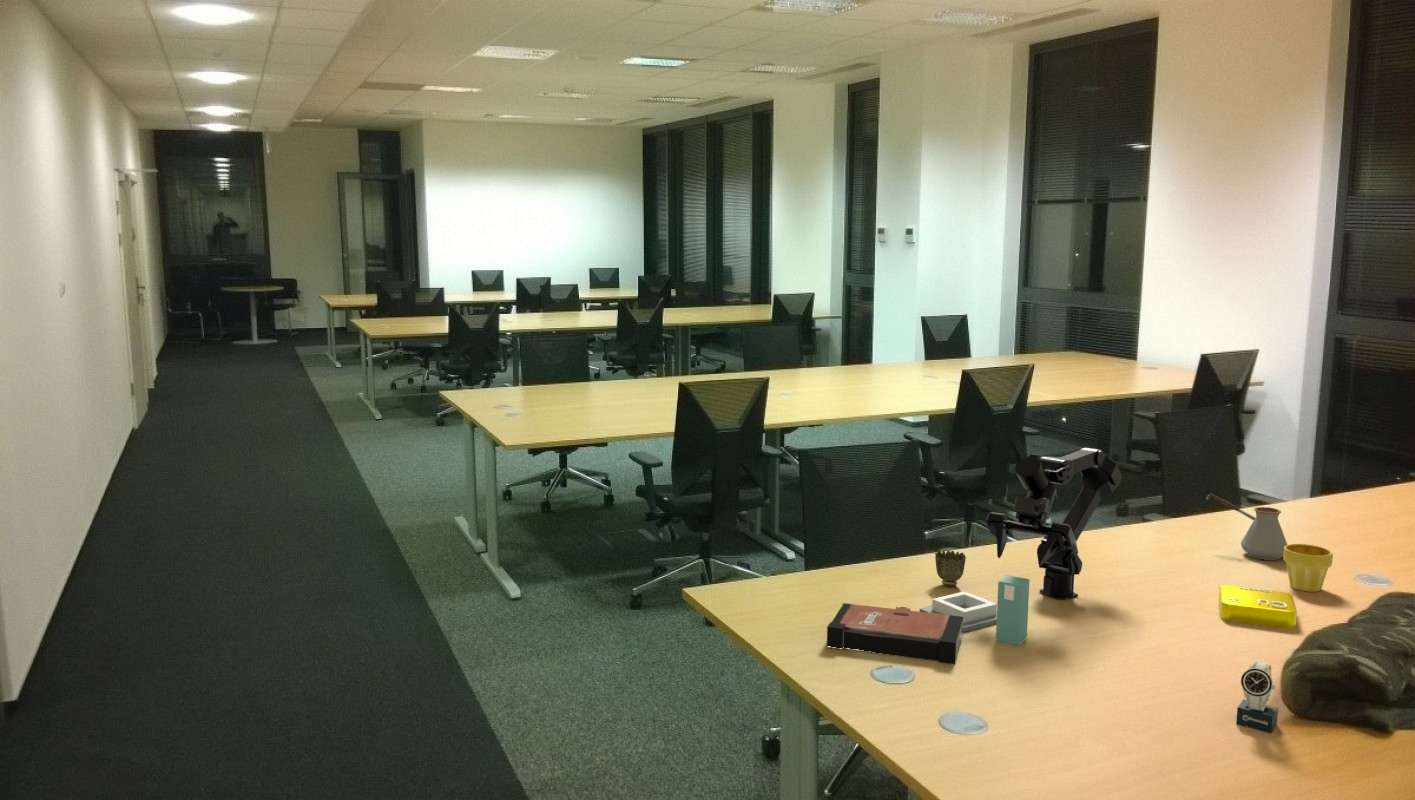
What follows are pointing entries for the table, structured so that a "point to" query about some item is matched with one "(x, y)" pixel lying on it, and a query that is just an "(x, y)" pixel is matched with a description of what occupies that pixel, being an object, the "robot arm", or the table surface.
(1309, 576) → the plant pot
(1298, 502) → the table surface
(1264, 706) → the watch
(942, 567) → the cup
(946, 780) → the table surface
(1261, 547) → the coffee pot
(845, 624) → the book
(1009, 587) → the teal rectangular block
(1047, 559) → the robot arm
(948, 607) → the square socket base
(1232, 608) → the element tile
